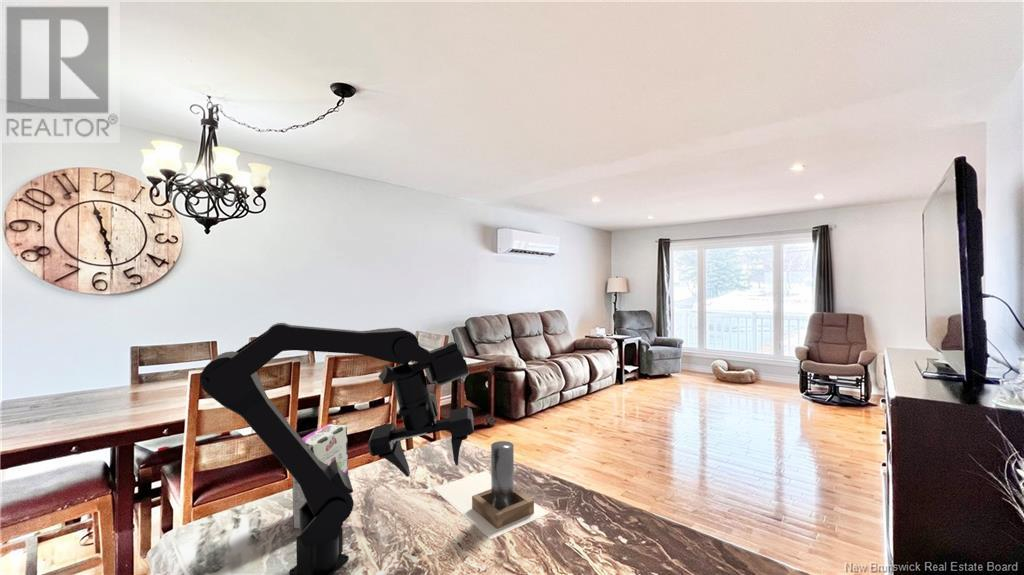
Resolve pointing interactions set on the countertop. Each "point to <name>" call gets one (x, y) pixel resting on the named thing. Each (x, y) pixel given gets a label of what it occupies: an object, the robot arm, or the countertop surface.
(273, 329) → the robot arm
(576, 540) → the countertop surface
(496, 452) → the grey tall rounded cylinder
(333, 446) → the candy bar box
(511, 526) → the board
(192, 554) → the countertop surface
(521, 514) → the square wooden frame
